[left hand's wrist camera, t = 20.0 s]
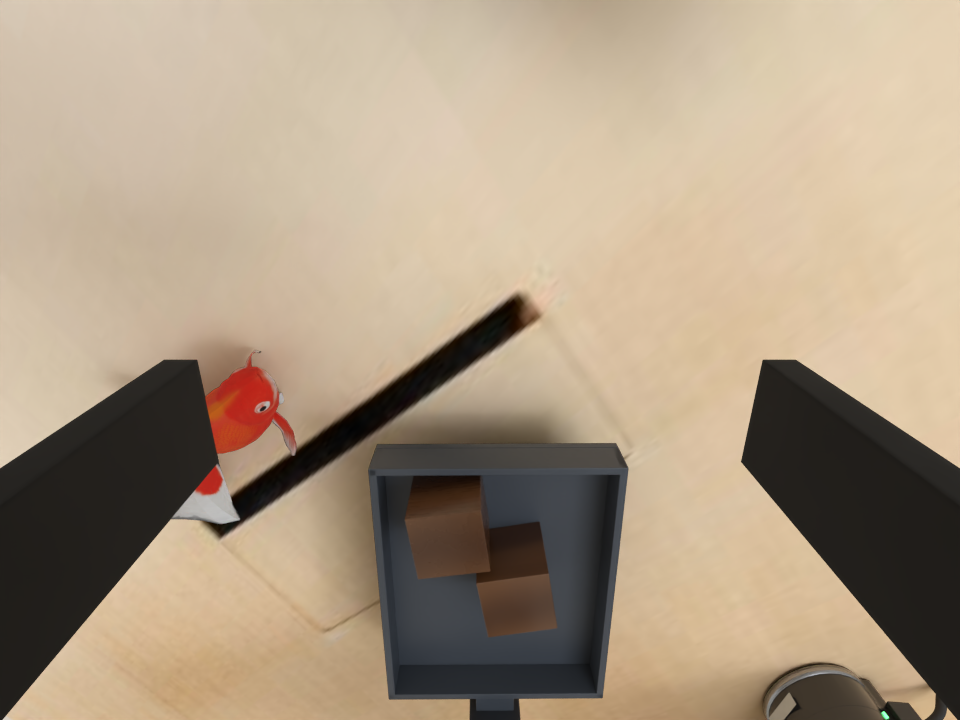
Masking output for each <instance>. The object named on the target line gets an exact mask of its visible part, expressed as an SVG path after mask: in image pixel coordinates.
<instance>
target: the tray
mask: <svg viewBox="0 0 960 720" xmlns="http://www.w3.org/2000/svg"><path fill="white" fill-rule="evenodd" d="M368 472H369V483H370V494H371V505H372V516H373V527H374V538H375V550H376V561H377V572H378V583H379V594H380V605H381V616H382V628H383V639H384V650H385V661H386V672H387V683H388V694H389V699H470V720H520V708H519V699H542V698H603V689H604V680H605V671H606V662H607V653H608V645H609V636H610V627H611V618H612V609H613V600H614V591H615V583H616V574H617V565H618V556H619V547H620V538H621V529H622V521H623V512H624V503H625V494H626V485H627V476H628V466H627V464H626V462H625V460H624V458H623V456H622V454H621V452H620V450H619V448H618V446H617V444H616V443H549V444H377V446H376V449H375V452H374V455H373V458H372V460H371V463H370V466H369V469H368ZM453 475H482V478H483V484H484V491H485V497H486V503H487V510H488V516H489V529H491V528H498V527H505V526H512V525H519V524H526V523H533V522H540V525H541V531H542V537H543V543H544V549H545V554H546V560H547V566H548V572H549V578H550V584H551V590H552V597H553V603H554V609H555V616H556V622H557V628H556V629H548V630H541V631H533V632H525V633H518V634H510V635H503V636H495V637H488V635H487V630H486V626H485V621H484V617H483V612H482V608H481V603H480V599H479V594H478V590H477V585H476V573H472V574H463V575H454V576H445V577H436V578H427V579H418V577H417V573H416V568H415V564H414V560H413V555H412V551H411V546H410V542H409V537H408V533H407V528H406V524H405V515H406V510H407V505H408V501H409V496H410V491H411V486H412V481H413V476H453Z"/></svg>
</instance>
